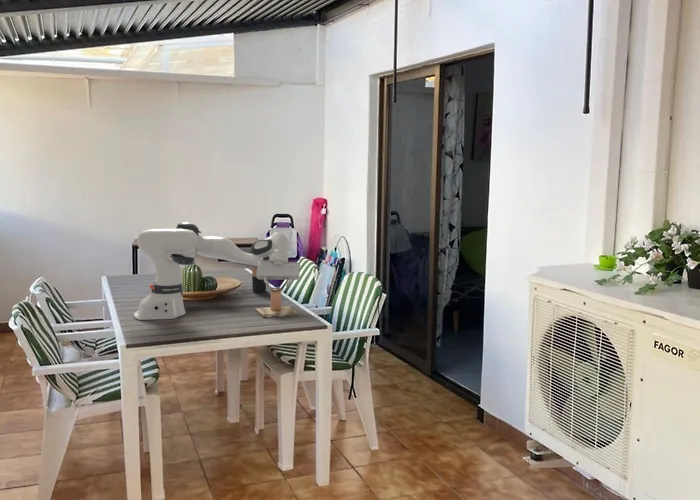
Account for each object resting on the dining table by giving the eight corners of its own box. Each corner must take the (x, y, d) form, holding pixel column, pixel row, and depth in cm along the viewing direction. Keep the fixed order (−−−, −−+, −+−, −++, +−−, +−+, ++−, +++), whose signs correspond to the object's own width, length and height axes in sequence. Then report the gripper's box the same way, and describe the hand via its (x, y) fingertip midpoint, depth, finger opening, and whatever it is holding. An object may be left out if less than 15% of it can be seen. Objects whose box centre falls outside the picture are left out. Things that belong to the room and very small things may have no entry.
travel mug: (249, 292, 347) (249, 254, 344) (257, 289, 354) (257, 253, 351) (261, 293, 344) (261, 256, 341) (269, 291, 350) (269, 254, 347)
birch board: (263, 317, 293) (263, 314, 293) (255, 311, 305) (255, 308, 304) (296, 314, 299) (296, 311, 299) (288, 308, 311) (288, 305, 311)
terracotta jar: (272, 311, 299) (272, 289, 297) (269, 309, 303) (269, 287, 302) (282, 310, 301) (282, 289, 299) (279, 308, 305) (279, 287, 304)
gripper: (300, 266, 316) (299, 290, 308) (257, 265, 315) (256, 289, 307) (300, 258, 311) (300, 282, 303) (257, 257, 310) (255, 282, 302)
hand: (277, 286), depth 305 cm, fingers open, 8 cm apart
